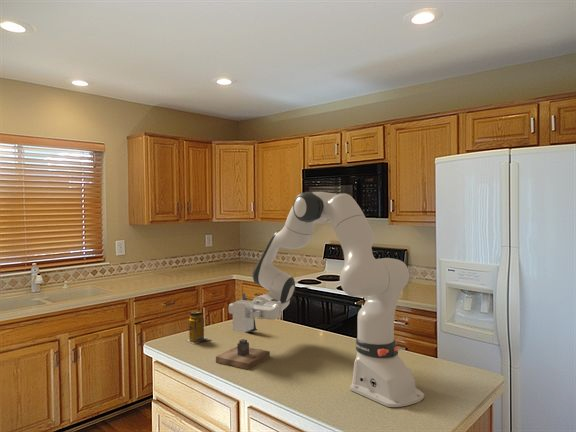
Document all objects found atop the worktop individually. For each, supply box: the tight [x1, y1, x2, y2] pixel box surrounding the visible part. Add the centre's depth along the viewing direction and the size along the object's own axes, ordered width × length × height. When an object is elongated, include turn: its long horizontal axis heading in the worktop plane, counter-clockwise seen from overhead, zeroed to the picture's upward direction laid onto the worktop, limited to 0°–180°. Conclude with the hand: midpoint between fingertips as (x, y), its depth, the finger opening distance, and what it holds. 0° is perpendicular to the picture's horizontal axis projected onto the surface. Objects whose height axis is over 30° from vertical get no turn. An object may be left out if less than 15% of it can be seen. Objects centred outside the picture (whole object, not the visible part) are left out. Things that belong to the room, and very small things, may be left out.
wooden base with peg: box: [215, 338, 271, 370], centre depth 151 cm, size 14×14×7 cm
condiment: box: [186, 310, 212, 345], centre depth 174 cm, size 7×8×12 cm
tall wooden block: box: [232, 299, 255, 333], centre depth 151 cm, size 5×5×10 cm
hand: (241, 314), depth 150 cm, fingers closed on tall wooden block, 5 cm apart
